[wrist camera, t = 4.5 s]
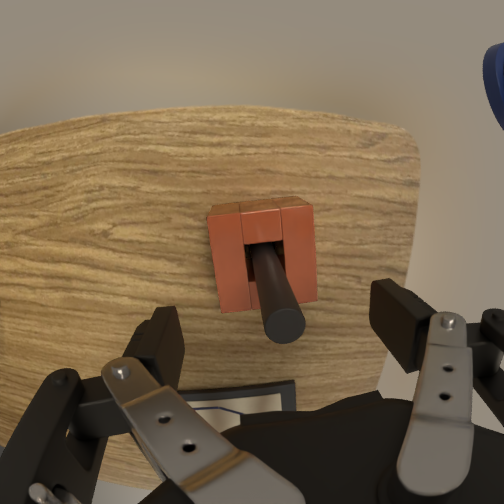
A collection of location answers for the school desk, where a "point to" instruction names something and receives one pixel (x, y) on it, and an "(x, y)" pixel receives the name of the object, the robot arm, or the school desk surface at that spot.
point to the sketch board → (240, 402)
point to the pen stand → (259, 231)
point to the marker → (276, 296)
